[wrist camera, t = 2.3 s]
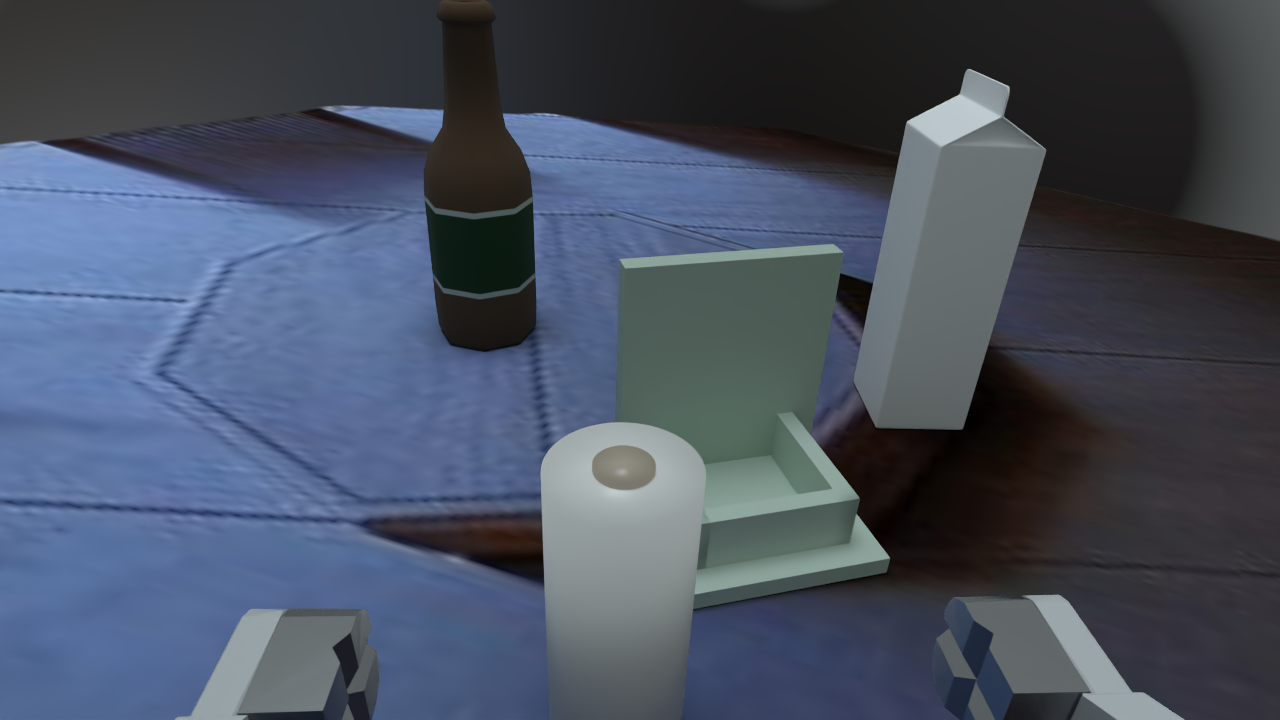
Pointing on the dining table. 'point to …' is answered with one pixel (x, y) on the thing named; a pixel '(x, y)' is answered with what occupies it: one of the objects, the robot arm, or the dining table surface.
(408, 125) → the dining table surface
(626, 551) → the roll
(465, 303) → the beer bottle
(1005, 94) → the milk
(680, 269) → the holder
